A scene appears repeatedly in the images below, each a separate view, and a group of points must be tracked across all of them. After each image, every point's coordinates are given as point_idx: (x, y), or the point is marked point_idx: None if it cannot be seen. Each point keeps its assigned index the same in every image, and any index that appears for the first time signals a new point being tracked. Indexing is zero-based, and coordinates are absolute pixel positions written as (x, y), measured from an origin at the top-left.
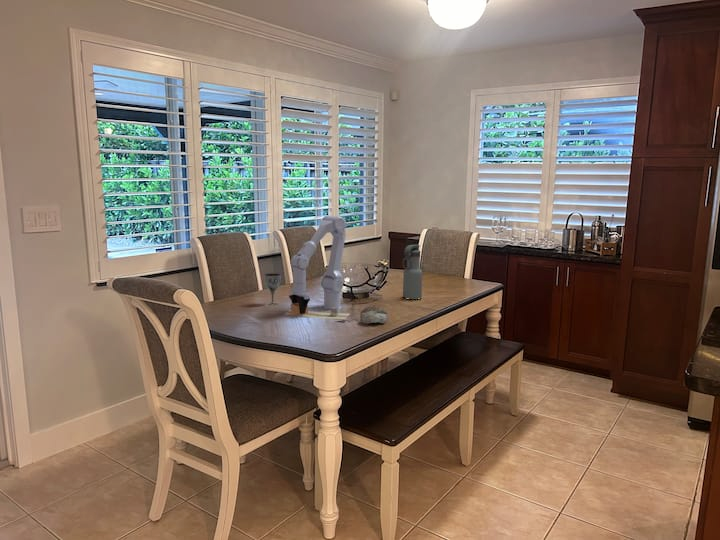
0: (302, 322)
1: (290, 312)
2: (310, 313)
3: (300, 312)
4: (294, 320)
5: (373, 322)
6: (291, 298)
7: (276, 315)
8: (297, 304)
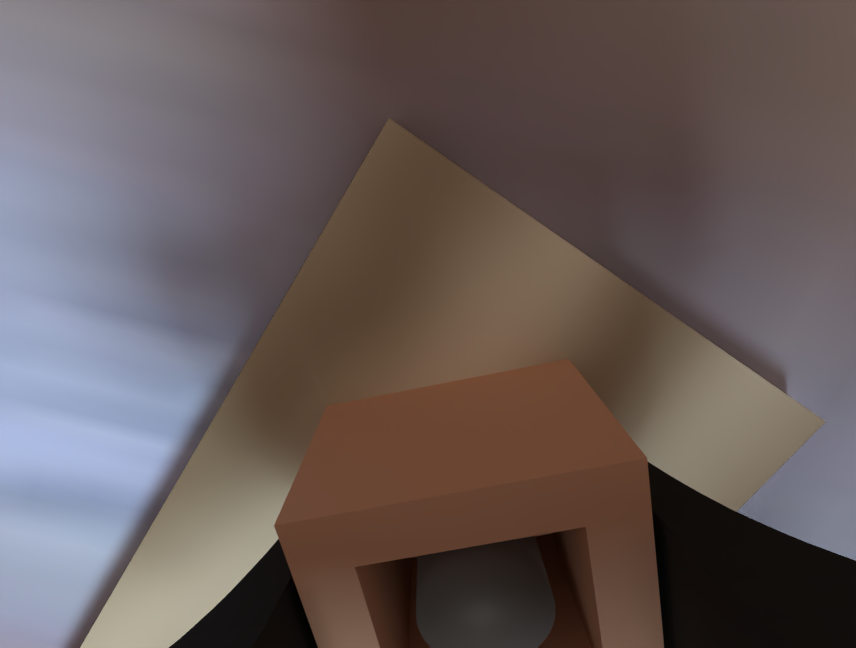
0: (33, 401)
1: (589, 354)
2: None
3: None
4: (185, 311)
5: None
6: (794, 627)
7: (661, 64)
8: (591, 599)
